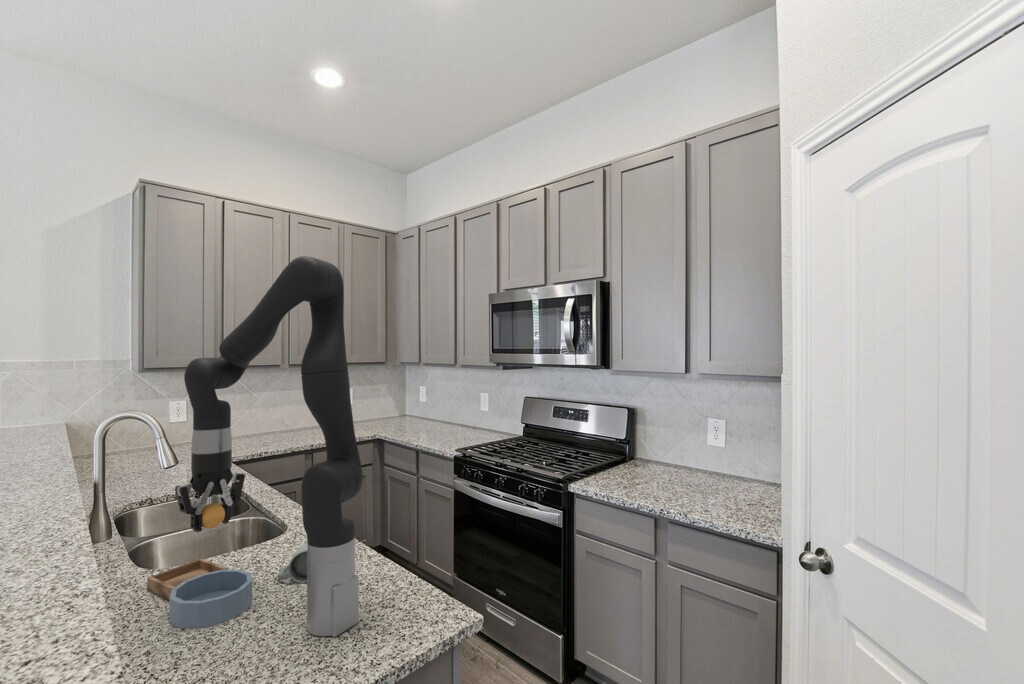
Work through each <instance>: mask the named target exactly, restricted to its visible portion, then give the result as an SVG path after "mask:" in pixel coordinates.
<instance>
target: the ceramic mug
mask: <svg viewBox="0 0 1024 684" xmlns="http://www.w3.org/2000/svg"><path fill="white" fill-rule="evenodd" d="M276 577H277V579H278V581H280V582H283V581H285V580H288V579H290V578H291V579H292V580H293V581H294V582H296V583H298V584H299V583H300V584H306V583H305V582H307V542H305V543H304V544H302V545H300V546H299V547H298V548H297V549H296V551H295V552H294V554H293V556H292V557H291V559H290V561H289V563H288V564H287V565H286V566H285V567H283V568H282V569H280V570H279V571H278V573H277V574H276Z"/></svg>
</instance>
